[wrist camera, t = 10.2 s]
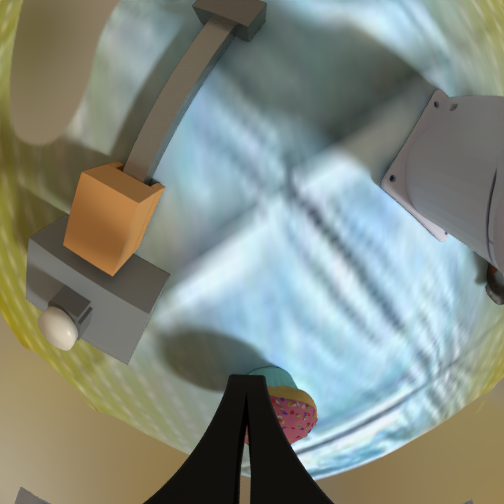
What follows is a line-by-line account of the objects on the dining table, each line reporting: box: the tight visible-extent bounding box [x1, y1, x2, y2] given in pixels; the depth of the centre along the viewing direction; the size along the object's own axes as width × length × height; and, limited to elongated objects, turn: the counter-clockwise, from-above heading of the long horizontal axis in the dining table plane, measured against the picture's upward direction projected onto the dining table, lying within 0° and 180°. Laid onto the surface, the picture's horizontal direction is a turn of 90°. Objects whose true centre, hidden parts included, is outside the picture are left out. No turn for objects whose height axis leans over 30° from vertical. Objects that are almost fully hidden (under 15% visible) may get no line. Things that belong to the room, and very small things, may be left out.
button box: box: [26, 214, 170, 365], centre depth 17 cm, size 6×10×7 cm, turn 59°
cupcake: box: [245, 367, 318, 445], centre depth 19 cm, size 9×8×12 cm
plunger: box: [38, 306, 78, 350], centre depth 14 cm, size 3×3×3 cm
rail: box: [123, 0, 267, 185], centre depth 14 cm, size 20×4×3 cm, turn 149°
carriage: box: [63, 161, 165, 276], centre depth 15 cm, size 5×4×4 cm
